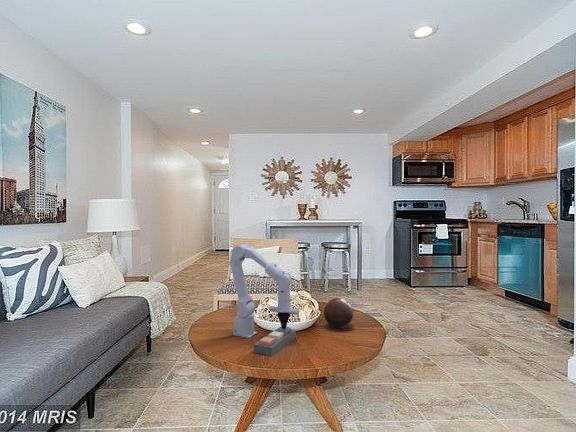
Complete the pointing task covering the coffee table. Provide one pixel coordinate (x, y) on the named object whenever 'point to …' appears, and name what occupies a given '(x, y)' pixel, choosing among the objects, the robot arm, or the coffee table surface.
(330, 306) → the wooden sphere
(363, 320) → the coffee table surface
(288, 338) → the key console
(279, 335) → the white key
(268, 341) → the terracotta key
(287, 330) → the blue key
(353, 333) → the coffee table surface
